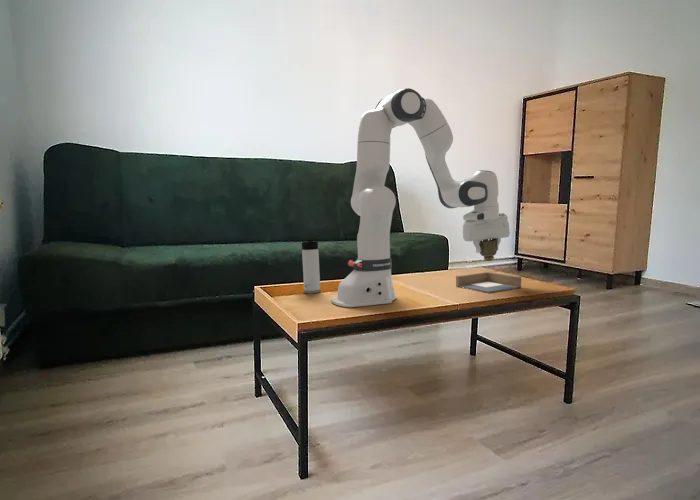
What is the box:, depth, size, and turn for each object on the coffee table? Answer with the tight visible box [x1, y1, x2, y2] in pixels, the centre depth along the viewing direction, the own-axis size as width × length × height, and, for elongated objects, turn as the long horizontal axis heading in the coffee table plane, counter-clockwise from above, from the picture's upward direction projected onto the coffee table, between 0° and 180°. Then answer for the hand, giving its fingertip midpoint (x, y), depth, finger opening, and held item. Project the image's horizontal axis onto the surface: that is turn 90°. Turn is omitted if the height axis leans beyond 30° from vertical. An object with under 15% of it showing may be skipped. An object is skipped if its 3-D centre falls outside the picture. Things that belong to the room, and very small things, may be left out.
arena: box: [455, 271, 522, 294], centre depth 171 cm, size 16×17×4 cm
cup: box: [479, 239, 498, 262], centre depth 171 cm, size 8×7×8 cm
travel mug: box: [301, 240, 321, 295], centre depth 175 cm, size 6×7×20 cm
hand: (487, 251), depth 172 cm, fingers closed on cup, 7 cm apart
